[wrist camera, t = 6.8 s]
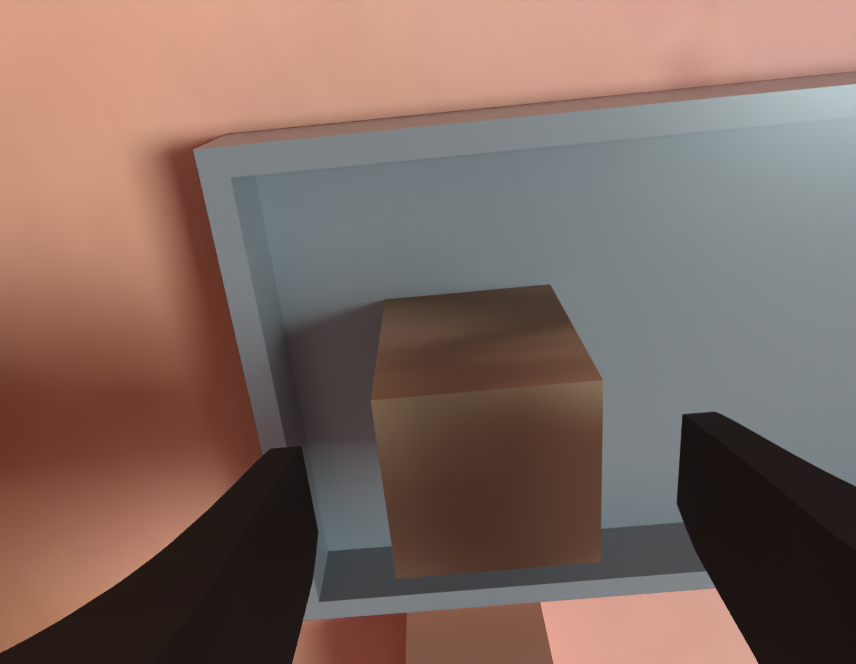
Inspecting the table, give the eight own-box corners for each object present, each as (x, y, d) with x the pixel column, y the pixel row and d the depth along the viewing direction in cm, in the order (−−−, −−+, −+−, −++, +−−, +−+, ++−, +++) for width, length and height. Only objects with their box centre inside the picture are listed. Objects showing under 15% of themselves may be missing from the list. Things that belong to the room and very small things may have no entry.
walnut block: (550, 284, 16) (603, 379, 11) (553, 427, 18) (600, 562, 13) (384, 299, 16) (370, 400, 11) (402, 439, 18) (396, 578, 13)
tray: (1045, 52, 15) (1162, 53, 12) (931, 504, 19) (1000, 565, 17) (227, 133, 15) (192, 149, 13) (314, 554, 20) (299, 621, 18)
